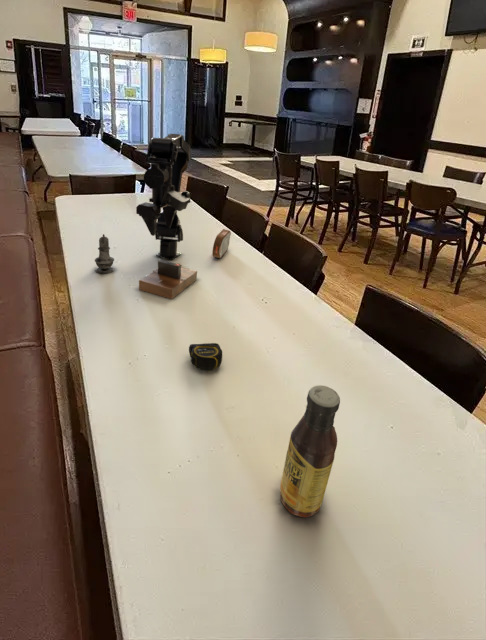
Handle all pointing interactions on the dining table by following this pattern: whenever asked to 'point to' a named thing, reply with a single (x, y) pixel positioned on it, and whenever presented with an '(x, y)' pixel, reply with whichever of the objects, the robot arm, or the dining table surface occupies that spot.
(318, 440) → the sauce bottle
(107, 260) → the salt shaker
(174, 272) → the dark grey block
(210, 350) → the tape measure
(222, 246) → the brown white rounded block
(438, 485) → the dining table surface
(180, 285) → the wooden block
